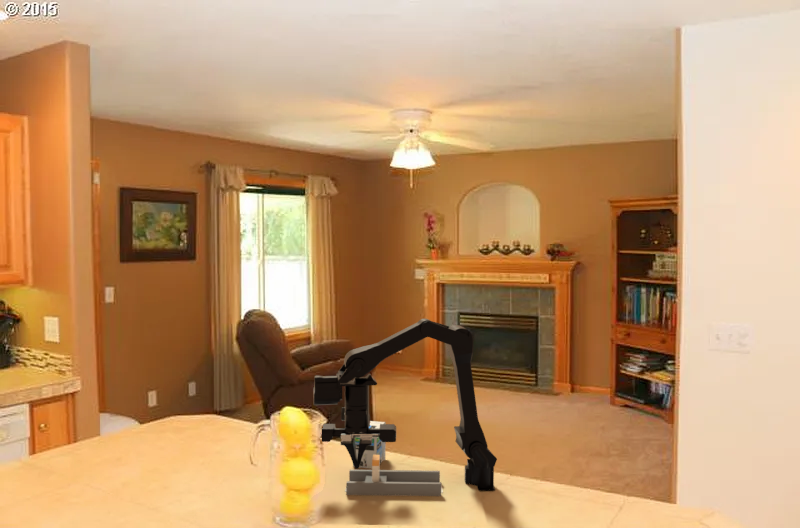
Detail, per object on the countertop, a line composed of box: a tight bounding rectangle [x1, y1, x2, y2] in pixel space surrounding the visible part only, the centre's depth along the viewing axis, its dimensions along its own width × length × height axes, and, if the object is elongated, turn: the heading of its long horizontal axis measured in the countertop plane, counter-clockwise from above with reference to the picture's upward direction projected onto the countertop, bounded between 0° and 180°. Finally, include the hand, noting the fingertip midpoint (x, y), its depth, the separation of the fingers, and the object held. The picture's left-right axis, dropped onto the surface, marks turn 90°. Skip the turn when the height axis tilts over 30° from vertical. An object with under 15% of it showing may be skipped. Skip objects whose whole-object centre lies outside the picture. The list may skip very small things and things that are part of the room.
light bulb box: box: [352, 420, 387, 469], centre depth 180 cm, size 11×7×11 cm, turn 168°
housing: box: [344, 469, 444, 497], centre depth 161 cm, size 24×16×4 cm, turn 89°
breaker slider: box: [365, 455, 387, 482], centre depth 161 cm, size 5×6×7 cm
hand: (356, 468), depth 161 cm, fingers closed
